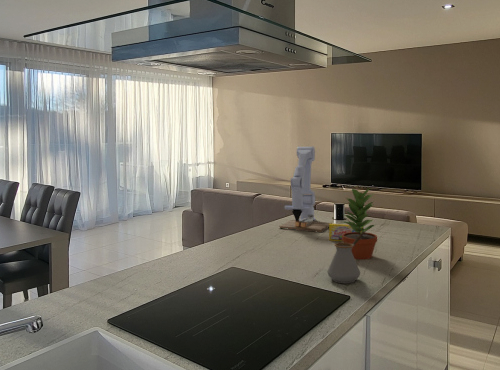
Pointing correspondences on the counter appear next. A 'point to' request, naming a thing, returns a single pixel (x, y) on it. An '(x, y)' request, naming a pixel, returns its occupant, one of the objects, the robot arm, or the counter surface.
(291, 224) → the walnut board
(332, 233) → the candy box
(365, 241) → the potted plant
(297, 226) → the tongs swing arm
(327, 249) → the counter surface
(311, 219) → the tongs fixed arm
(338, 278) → the coffee pot
